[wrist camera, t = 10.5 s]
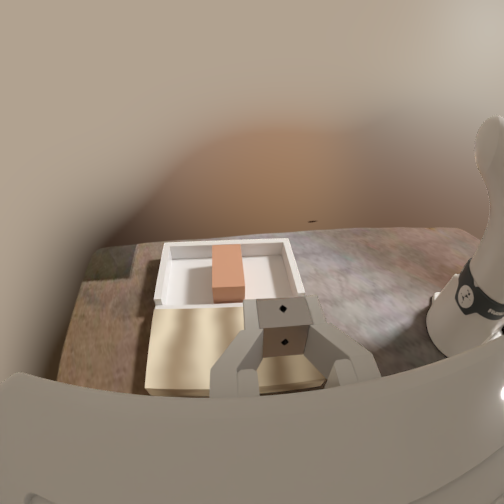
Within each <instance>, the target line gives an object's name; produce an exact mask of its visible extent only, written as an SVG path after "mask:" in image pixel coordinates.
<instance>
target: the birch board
mask: <svg viewBox="0 0 504 504" xmlns="http://www.w3.org/2000/svg"><path fill="white" fill-rule="evenodd" d="M241 330H244V317H243V307H223V308H193V309H154V313H153V319H152V326H151V334H150V342H149V350H148V359H147V368H146V379H145V389H146V390H147V391H148V393H149V394H150V395H151V396H173V397H209V392H210V369H211V368H212V367H213V365H214V364H215V363H216V362H217V360H218V359H219V358H220V357H221V355H222V354H223V353H224V351H225V350H226V349H227V348H228V346H229V345H230V344H231V342H232V341H233V340H234V338H235V337H236V336H237V335H238V333H239V332H240V331H241ZM256 371H257V375H258V384H259V393H260V394H263V393H273V392H282V391H291V390H298V389H305V388H312V387H318V386H321V385H322V384H323V382H324V381H325V379H326V378H325V377H324V376H323V375H322V374H321V373H320V372H319V371H318V370H317V369H316V368H315V367H314V365H313V364H312V363H311V362H310V361H309V360H308V359H307V358H306V357H305V356H304V354H302V355H289V356H277V357H268V358H263V360H262V361H261V363H260V365H259V367H258V368H257V370H256Z"/></svg>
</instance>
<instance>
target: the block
mask: <svg viewBox="0 0 504 504" xmlns="http://www.w3.org/2000/svg"><path fill="white" fill-rule="evenodd" d="M212 292H213V302H214V304H222V303H243V299H245V280H244V271H243V262H242V253H241V244H231V245H212Z"/></svg>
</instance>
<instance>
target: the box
mask: <svg viewBox="0 0 504 504" xmlns="http://www.w3.org/2000/svg"><path fill="white" fill-rule="evenodd" d="M231 244H241V253H242V262H243V271H244V280H245V299H266V298H285V297H298V296H304V295H305V290H304V287H303V284H302V281H301V277H300V274H299V271H298V268H297V264H296V261H295V258H294V255H293V252H292V249H291V245H290V242H289V239H288V238H281V239H249V240H220V241H194V242H170V243H164V247H163V252H162V257H161V262H160V267H159V272H158V277H157V283H156V288H155V294H154V302H155V305H156V306H155V309H193V308H223V307H243V303H222V304H214V302H213V292H212V245H231Z"/></svg>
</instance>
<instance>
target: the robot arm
mask: <svg viewBox="0 0 504 504" xmlns="http://www.w3.org/2000/svg"><path fill="white" fill-rule="evenodd" d="M474 149H475V159H476V164H477V167H478V170H479V172H480V174H481V176H482V178H483V180H484V183H485V185H486V188H487V191H488V196H489V201H490V202H489V203H490V215H489V221H488V225H487V228H486V231H485V233H484V236H483V238H482V240H481V242H480V244H479V246H478V248H477V250H476V252H475V254H474V256H473V257H472V258H470V259H469V260H468V262H467V263H466V264H465V265H464V267H463V269H462V271H461V273H460V274H455V275H454V276H453V277H452V278H451V280H450V281H449V282H448V284H447V285H446V286H445V288H444V289H443V290H442V291H441V292H436V293H435V294H434V295H433V296H432V305H431V307H430V309H429V311H428V313H427V318H426V324H427V329H428V333H429V335H430V337H431V339H432V341H433V343H434V344H435V346H436V347H437V348H438V349H439V350H440V351H441V352H442V353H443V354H444V355H446V356H447V357H449V358H446V359H443V360H440V361H437V362H434V363H431V364H428V365H425V366H421V367H418V368H415V369H411V370H408V371H404V372H401V373H397V374H393V375H389V376H385V377H381V374H380V372H379V369H378V367H377V364H376V362H375V359H374V357H373V354H372V353H371V352H369V351H368V350H367V349H365V348H364V347H363V346H361V345H360V344H359V343H357V342H356V341H354V340H353V339H352V338H350V337H349V336H348V335H346V334H345V333H344V332H342V331H341V330H340V329H338V328H337V327H336V326H334V325H333V324H331V323H327V321H326V318H325V316H324V313H323V310H322V307H321V304H320V302H319V299H318V296H317V295H308V296H298V297H285V298H266V299H243V317H244V330H241V331H240V332H239V333H238V335H237V336H236V337H235V338H234V340H233V341H232V342H231V344H230V345H229V346H228V348H227V349H226V350H225V351H224V353H223V354H222V355H221V357H220V358H219V359H218V360H217V362H216V363H215V364H214V365H213V367H212V368H211V369H210V392H209V398H184V397H162V396H149V395H137V394H128V393H119V392H112V391H105V390H98V389H92V388H86V387H81V386H75V385H70V384H66V383H61V382H57V381H52V380H47V379H44V378H40V377H36V376H32V375H29V374H26V373H22V372H17V373H15V374H13V375H11V376H10V377H8V378H7V379H6V380H4V381H3V382H2V383H1V384H0V504H504V335H503V334H502V330H501V329H502V328H503V326H504V117H502V116H499V115H494V116H492V117H490V118H488V119H487V120H486V121H485V122H484V123H483V124H482V125H481V127H480V128H479V130H478V132H477V136H476V139H475V148H474ZM302 354H304V356H305V357H306V358H307V359H308V360H309V361H310V362H311V363H312V364H313V365H314V367H315V368H316V369H317V370H318V371H319V372H320V373H321V374H322V375H323V376H324V377H325V378H326V379H327V382H326V385H325V387H324V389H320V390H313V391H306V392H298V393H289V394H279V395H267V396H260V393H259V384H258V375H257V371H256V370H257V368H258V367H259V365H260V363H261V361H262V360H263V358H268V357H277V356H289V355H302Z"/></svg>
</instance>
